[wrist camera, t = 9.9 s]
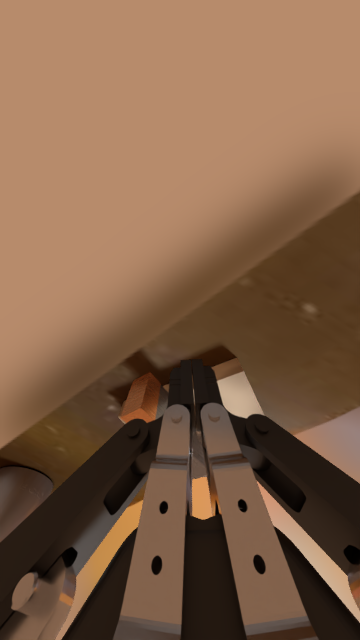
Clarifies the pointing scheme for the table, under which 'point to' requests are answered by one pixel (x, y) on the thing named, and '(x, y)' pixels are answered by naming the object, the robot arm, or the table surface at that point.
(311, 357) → the table surface
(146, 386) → the orange-tipped lever
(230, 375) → the board
